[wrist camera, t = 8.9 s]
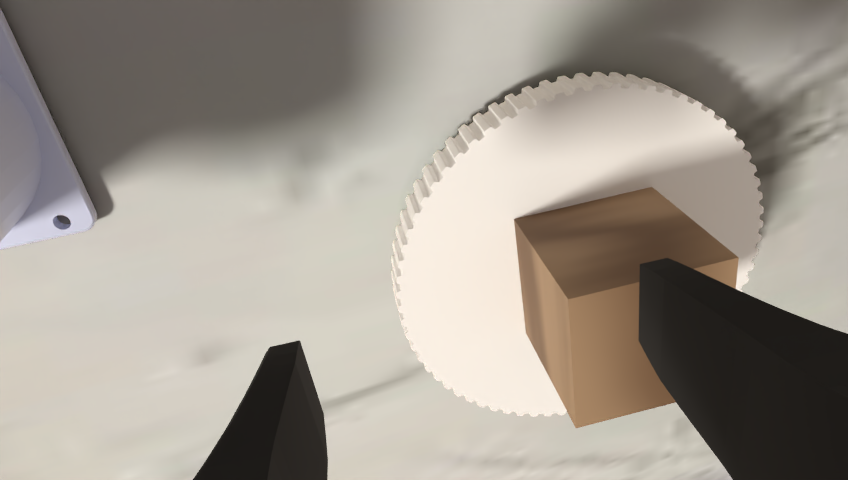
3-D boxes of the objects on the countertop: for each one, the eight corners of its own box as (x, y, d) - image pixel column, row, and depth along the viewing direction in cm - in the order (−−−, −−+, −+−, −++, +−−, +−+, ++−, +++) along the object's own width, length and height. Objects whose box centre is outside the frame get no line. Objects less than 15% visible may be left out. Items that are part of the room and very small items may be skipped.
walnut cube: (525, 333, 24) (576, 428, 20) (513, 218, 22) (568, 299, 17) (649, 301, 24) (725, 389, 20) (651, 186, 22) (739, 257, 18)
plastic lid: (583, 412, 30) (605, 452, 28) (323, 310, 25) (325, 349, 23) (790, 173, 26) (835, 198, 24) (526, -15, 20) (553, -5, 18)
